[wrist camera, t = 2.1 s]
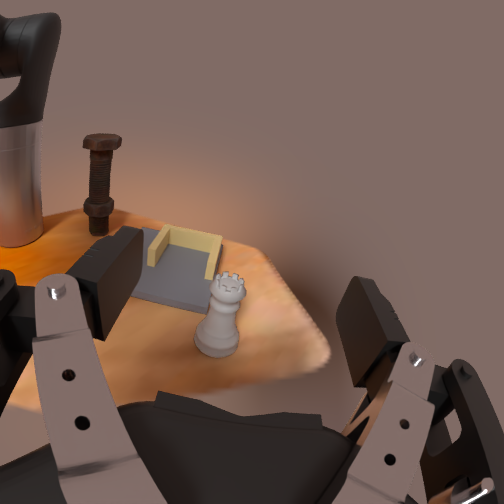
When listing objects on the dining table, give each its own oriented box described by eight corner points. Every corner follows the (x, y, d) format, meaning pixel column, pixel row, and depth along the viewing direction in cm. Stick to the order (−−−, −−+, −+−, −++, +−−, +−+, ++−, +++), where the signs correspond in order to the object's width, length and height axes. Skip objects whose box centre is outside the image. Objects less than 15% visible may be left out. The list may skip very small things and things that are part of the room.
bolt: (89, 223, 42) (93, 132, 35) (117, 226, 43) (124, 134, 36) (78, 240, 37) (79, 138, 30) (109, 243, 39) (114, 140, 32)
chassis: (100, 287, 30) (98, 262, 29) (142, 232, 43) (143, 212, 42) (206, 314, 31) (211, 290, 30) (221, 250, 45) (226, 230, 43)
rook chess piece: (240, 361, 27) (260, 298, 23) (194, 359, 26) (204, 294, 22) (234, 329, 31) (251, 267, 27) (192, 326, 29) (202, 262, 26)
